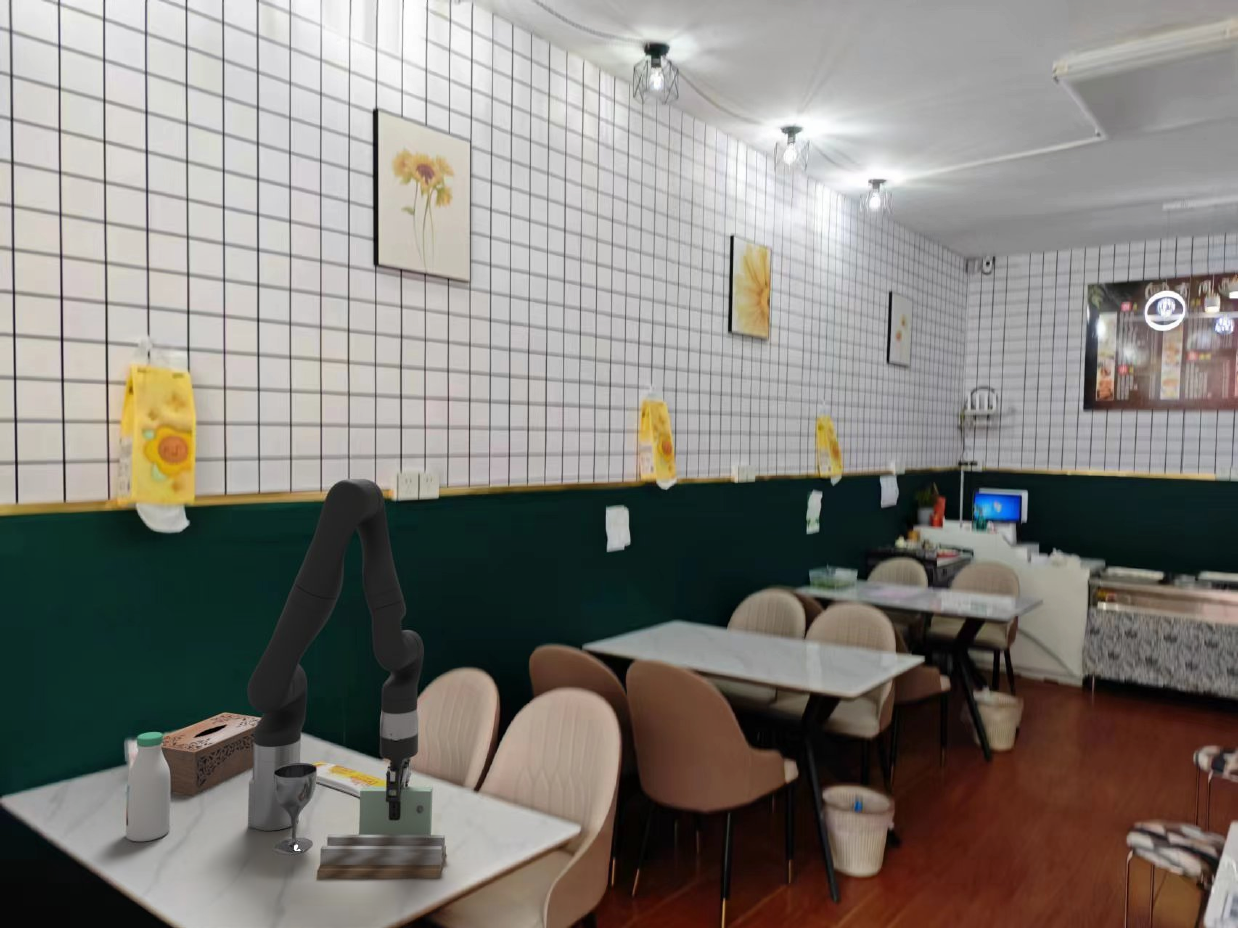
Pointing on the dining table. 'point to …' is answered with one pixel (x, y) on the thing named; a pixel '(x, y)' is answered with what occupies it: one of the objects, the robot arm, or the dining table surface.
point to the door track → (382, 856)
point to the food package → (344, 778)
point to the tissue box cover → (209, 752)
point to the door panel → (412, 812)
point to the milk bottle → (148, 791)
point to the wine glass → (294, 800)
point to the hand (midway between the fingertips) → (398, 810)
